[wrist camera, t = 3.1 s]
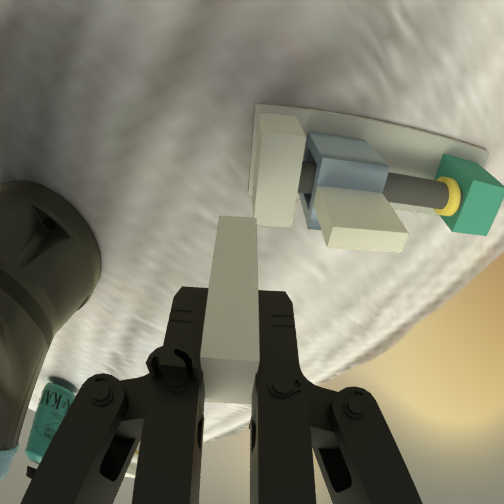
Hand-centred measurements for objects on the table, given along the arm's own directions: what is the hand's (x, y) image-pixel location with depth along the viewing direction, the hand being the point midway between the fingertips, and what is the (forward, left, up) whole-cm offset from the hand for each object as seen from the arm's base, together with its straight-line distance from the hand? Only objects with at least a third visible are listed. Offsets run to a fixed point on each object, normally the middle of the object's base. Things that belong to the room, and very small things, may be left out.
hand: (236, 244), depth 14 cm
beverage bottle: (-30, -42, -11) cm, 53 cm away
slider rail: (+11, 0, -11) cm, 15 cm away
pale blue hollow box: (+6, 0, -9) cm, 11 cm away
